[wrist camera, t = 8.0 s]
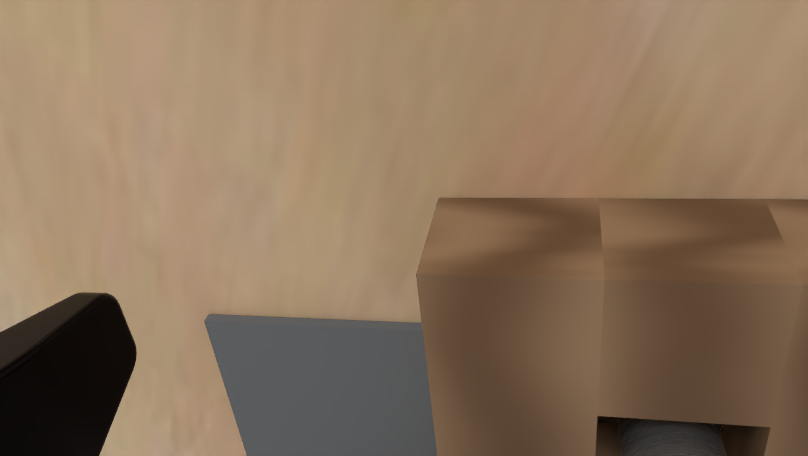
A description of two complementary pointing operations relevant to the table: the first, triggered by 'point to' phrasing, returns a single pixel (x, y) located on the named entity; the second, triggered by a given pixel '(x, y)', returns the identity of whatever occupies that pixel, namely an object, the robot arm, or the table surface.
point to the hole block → (615, 322)
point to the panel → (325, 385)
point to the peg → (668, 438)
